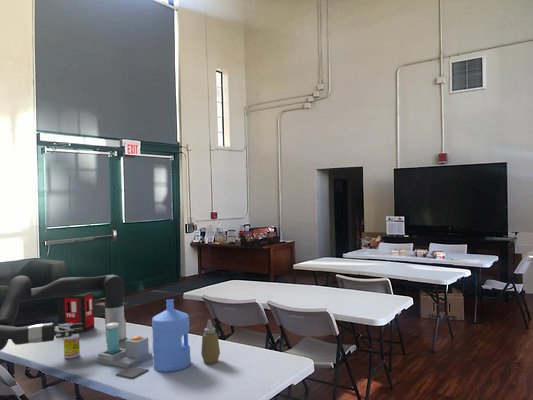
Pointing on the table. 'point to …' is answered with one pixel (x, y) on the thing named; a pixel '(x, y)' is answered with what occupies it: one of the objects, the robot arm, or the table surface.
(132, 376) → the mat
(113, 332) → the cylinder
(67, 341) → the supplement bottle
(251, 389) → the table surface
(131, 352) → the housing
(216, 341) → the squeeze bottle
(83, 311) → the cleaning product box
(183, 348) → the water jug
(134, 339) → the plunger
